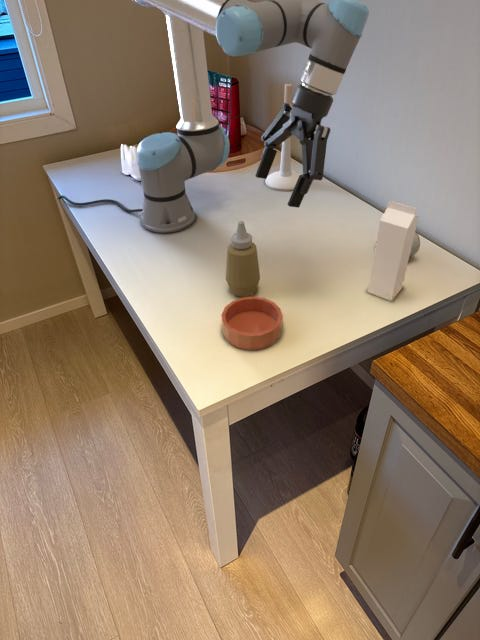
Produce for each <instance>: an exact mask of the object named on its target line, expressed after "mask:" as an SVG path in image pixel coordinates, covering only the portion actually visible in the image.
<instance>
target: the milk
mask: <svg viewBox="0 0 480 640" xmlns="http://www.w3.org/2000/svg"><path fill="white" fill-rule="evenodd" d="M419 217H420V216H419V215H417V208H416V207H414V206H411V205H407V204H403V203H400V202H396V201H393V200H389V201H388V203H387V208H386V209H385V210H384V212H383V215H382V216H381V218H380V220H379V226H378V231H377V237H376V241H377V242H376V241H375V249H374V254H373V259H372V263H371V264H372V265H371V270H370V276H369V282H368V286H367V287H368V288H367V293H369V294H372V295H374V296H377V297H379V298H382V299H384V300H387V301H390V302H392V301H393V300H394V298H396V296H397V295H398V294H399V292H400V291H401V290H402V289H403V285H404V281H405V277H406V272H407V268H408V264H409V260H410V257H411V256H410V252H411V247H412V243H413V239H414V235H415V231H416V229H417V225H418V221H419ZM416 232H417V231H416ZM409 256H410V257H409Z"/></svg>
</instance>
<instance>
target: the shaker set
mask: <svg viewBox="0 0 480 640" xmlns="http://www.w3.org/2000/svg"><path fill="white" fill-rule="evenodd" d="M137 148H138V147H136V146H132V145H130V146H128V145H127V144H123V143H121V145H120V160H121V173H122V174H124V175H125V176H129V175H130V177H131V178H133V179H134V180H135V181H138V182H141V176H140V170H139V166H138V163H137V160H138V159H137Z"/></svg>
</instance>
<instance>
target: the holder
mask: <svg viewBox="0 0 480 640" xmlns="http://www.w3.org/2000/svg"><path fill="white" fill-rule="evenodd" d="M220 317H221V328H222V334H223V337H224V339H225V340H226V341H227V342H228V343H229V344H230V345H232V346H233V347H236V348H239V349H240V350H241V349H242V350H247V351H256V350H257V351H258V350H262V349H265V348H268V347H270V346H272V345H273V344H275V343H276V342H277V341H278V340H279V339H280V337H281V335H282V330H283V318H284V315H283V313H282V310H281V308H280V306H279V305H277V304H276V303H275V301H272V300H270V299H268V298H265V297H261V296H253V295H251V296H246V297H240V298H237V299H235V300H232V301H230V302H229V303H228V304H227V305H225V307H224V308H223V310H222V313H221V316H220Z"/></svg>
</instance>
